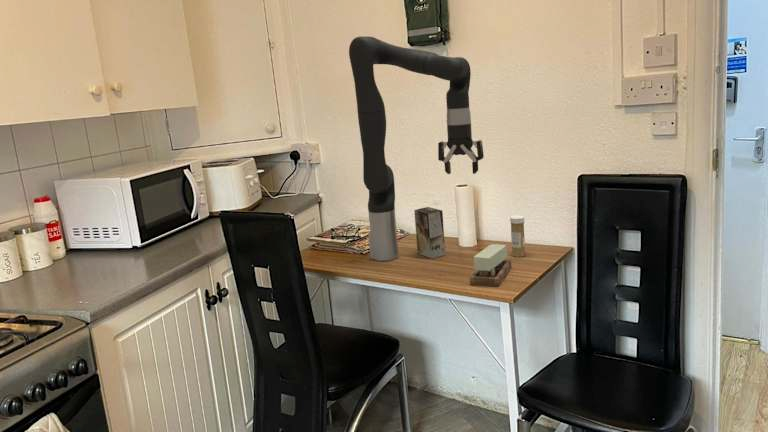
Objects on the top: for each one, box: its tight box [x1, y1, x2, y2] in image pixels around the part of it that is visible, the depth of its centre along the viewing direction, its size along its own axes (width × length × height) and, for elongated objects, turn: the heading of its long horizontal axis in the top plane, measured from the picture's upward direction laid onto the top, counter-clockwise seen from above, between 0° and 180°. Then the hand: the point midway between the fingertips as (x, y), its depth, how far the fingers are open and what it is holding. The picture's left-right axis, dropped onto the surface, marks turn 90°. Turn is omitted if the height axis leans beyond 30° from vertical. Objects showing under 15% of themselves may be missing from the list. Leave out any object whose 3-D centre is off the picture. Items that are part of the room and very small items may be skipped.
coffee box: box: [414, 206, 446, 259], centre depth 216 cm, size 9×6×16 cm
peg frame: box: [469, 259, 512, 288], centre depth 191 cm, size 18×9×4 cm, turn 157°
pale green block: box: [473, 243, 508, 272], centre depth 190 cm, size 14×5×4 cm, turn 148°
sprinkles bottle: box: [509, 214, 526, 258], centre depth 207 cm, size 5×5×13 cm
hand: (461, 173), depth 198 cm, fingers open, 8 cm apart
